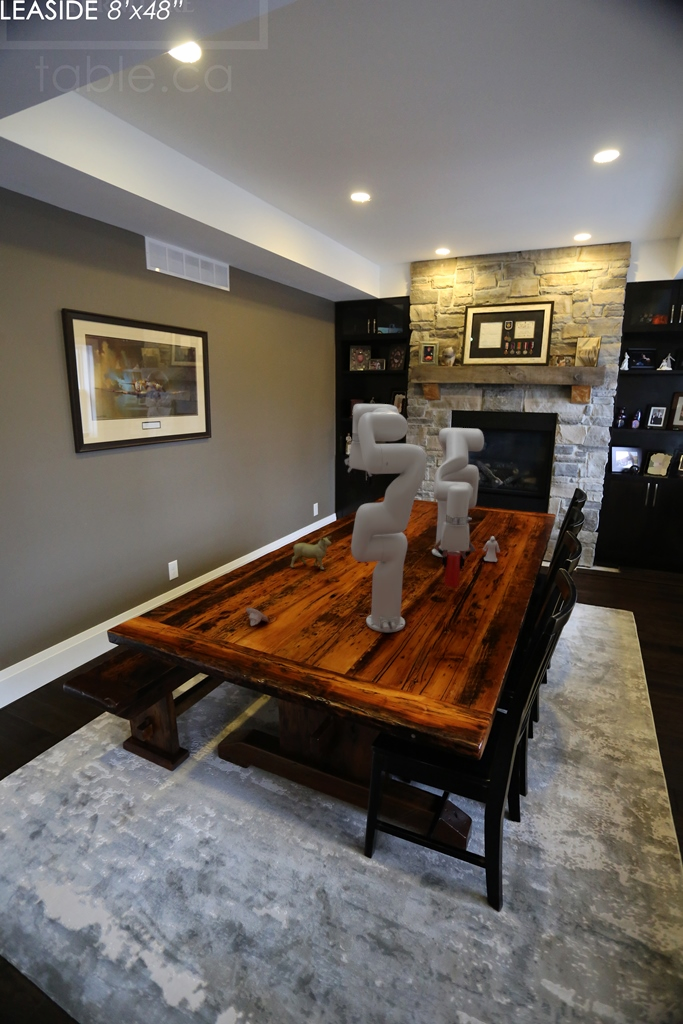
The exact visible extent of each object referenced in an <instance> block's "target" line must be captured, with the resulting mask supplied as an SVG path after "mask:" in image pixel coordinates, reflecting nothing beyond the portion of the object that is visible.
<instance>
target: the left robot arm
mask: <svg viewBox="0 0 683 1024" xmlns="http://www.w3.org/2000/svg"><path fill="white" fill-rule="evenodd" d="M408 424H409V423H408V420H407V418H405V417H404V415H402V414H401V413H400V412H399V409H398V407H397V406H395V405H393V404H387V403H386V404H385V403H356V404H354V405H353V408H352V437H351V439H352V441H351V443H350V448H349V455H348V456H349V457H347V458H345V459H344V464H345V468H346V469H347V473H348V484H355V483H356V481H357V472H356V470H359V471H364V472H365V471H366V472H367V474H368V475H367V484H366V486H367V488H373V487H375V486H376V477H377V475H384V474H386V475H387V474H388V475H389V474H391V475H393V474H399V475H398V476H397V477H396V478H395V479H394V480H393V481H391V483H390V484H389V485H388V486H387V488H386V489H385V493H384V499H383V501H381V502H368V503H364V504H361V505H360V506H359V507H358V508H357V510H356V514H355V519H354V524H353V530H352V537H351V545H350V552H351V556H352V558H353V559H354V560H355V561H356V562H360V563H372V562H377V563H376V564H375V566H374V569H373V571H372V585H371V586H372V587H371V607H370V609H371V613H370V615H368V616H367V617H366V621H365V622H366V623H365V624H366V625H367V627H368V628H369V629H372V630H373V631H376V632H379V633H396V632H398V631H402V630H403V629H404V628H405V626H406V620H405V618H403V617H402V615H401V614H402V599H403V598H402V597H403V580H404V578H403V577H404V567H405V559H406V557H407V556H406V555H407V551H408V538H407V536H406V534H405V533H404V532H405V531H406V529H407V528H408V525H409V522H410V519H411V518H410V517H411V515H412V510H413V506H414V503H415V502H414V501H415V498H416V495H417V493H418V492H419V489H420V488H421V486H422V484H423V481H424V479H425V476H426V471H427V466H428V465H427V459H428V458H427V455H426V451H425V450H424V449H423V447H421V446H419V445H417V444H412V443H376V442H396V441H399V440H402V439H403V438H404V437H405V436H406V435H407V433H408V430H409V425H408Z"/></svg>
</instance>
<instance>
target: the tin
mask: <svg viewBox="0 0 683 1024" xmlns="http://www.w3.org/2000/svg"><path fill="white" fill-rule="evenodd" d="M461 555H462V553H461V552H460V551H459V552H455V551H450V552H447V556H446V557H447V561H446V567H445V568H444V569H445V571H444V585H445V586H447V587H453V588H455V587H459V585H460V576H461V575H460V573H461V572H460V571H461V569H460V563H461Z"/></svg>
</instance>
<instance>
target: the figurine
mask: <svg viewBox="0 0 683 1024" xmlns="http://www.w3.org/2000/svg"><path fill="white" fill-rule="evenodd" d="M482 551H483V552H486V554H485V556H484V557H483V560H484V561H485V562H495V563H498V558H497V554H496V553H498V554H499V553H501V550H500V547H499V543H498V541H497V540H496V538H495V536H493V535H492V536H490V539H489V540H487V542H486V543H485V544H484V546H483V548H482Z"/></svg>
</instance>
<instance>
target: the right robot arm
mask: <svg viewBox="0 0 683 1024" xmlns="http://www.w3.org/2000/svg"><path fill="white" fill-rule="evenodd" d="M438 441H439V445H440V448H441V450H442V463H441V465H439V467H438V468H437V469H436V471H435V473H434V477H433V497H434V499H435V500H436V501H437V521H436V522H437V524H436V534H435V535H436V537H435V544H434V545H433V548H432V549H431V554H432V555H433V556H436V557H439V558H441V565H442V566H443V568H444V569H446V561H447V557H446V556H447V552H450V551H455V552H459V553H461V563H460V570H463V567H465V562H466V561H465V560H466V559H467V558H468V556H470V555H471V554H472V553H474V552H475V551H476V548H475V546H474V544H472V543H471V541H470V524H469V522H472V517H470V516H469V510H472V509H475V507H476V505H477V501H478V490H479V481H480V480H479V479H480V473H479V468H478V466H476V465H474V464H469V452H481V451H482V450H483V448H484V446H485V437H484V434H483V431H482V430H481V429H479V428H469V427H468V428H467V427H466V428H465V427H464V428H463V427H444V428H442V429H440V430H439V432H438Z"/></svg>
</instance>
